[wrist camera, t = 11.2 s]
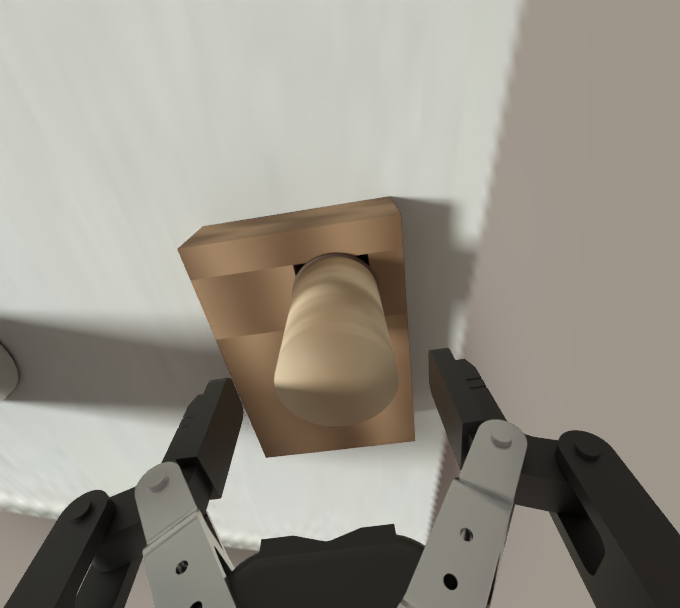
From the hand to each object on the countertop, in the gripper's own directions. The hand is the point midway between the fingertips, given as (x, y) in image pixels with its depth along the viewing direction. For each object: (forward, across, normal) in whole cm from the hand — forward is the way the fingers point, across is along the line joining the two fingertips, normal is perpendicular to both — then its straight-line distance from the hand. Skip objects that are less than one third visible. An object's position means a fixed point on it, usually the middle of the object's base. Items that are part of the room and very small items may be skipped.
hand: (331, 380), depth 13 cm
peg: (+10, 0, 0) cm, 11 cm away
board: (+11, +1, +5) cm, 12 cm away
